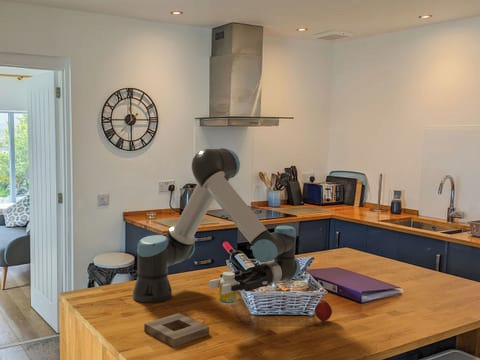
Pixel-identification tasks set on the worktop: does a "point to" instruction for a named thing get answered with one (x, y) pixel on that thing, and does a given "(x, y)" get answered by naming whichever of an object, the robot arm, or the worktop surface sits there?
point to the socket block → (176, 338)
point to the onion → (323, 311)
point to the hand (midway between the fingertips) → (216, 287)
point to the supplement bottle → (229, 297)
